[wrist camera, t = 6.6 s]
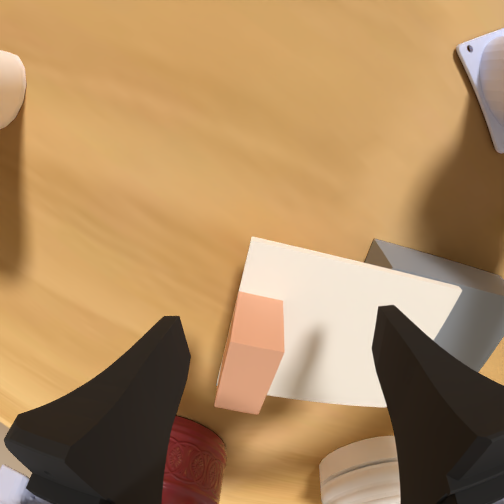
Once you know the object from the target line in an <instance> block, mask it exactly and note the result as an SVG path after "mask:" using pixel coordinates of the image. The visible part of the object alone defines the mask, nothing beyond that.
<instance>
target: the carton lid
mask: <svg viewBox="0 0 504 504" xmlns="http://www.w3.org/2000/svg"><path fill="white" fill-rule="evenodd" d="M461 292H462V290H461V288H460V287H459V286H456V285H452V284H448V283H444V282H440V281H436V280H432V279H428V278H424V277H420V276H416V275H412V274H408V273H404V272H400V271H396V270H392V269H388V268H384V267H379V266H375V265H371V264H367V263H363V262H359V261H355V260H351V259H346V258H342V257H338V256H334V255H330V254H325V253H321V252H317V251H313V250H308V249H304V248H300V247H296V246H291V245H287V244H283V243H278V242H274V241H270V240H265V239H261V238H257V237H252V238H251V242H250V246H249V250H248V254H247V258H246V262H245V267H244V271H243V275H242V279H241V283H240V287H239V291H238V295H237V300H236V304H235V308H234V312H233V316H232V320H231V324H230V329H229V333H228V337H227V341H226V345H225V349H224V354H223V358H222V362H221V366H220V370H219V374H218V379H217V383H216V386H218V387H217V392H216V398H215V403H214V407H218V408H223V409H228V410H234V411H239V412H245V413H251V414H257V415H258V414H259V412H260V409H261V407H262V405H263V402H264V400H265V398H266V396H267V395H270V396H276V397H283V398H290V399H297V400H304V401H313V402H321V403H331V404H341V405H353V406H368V407H387V405H386V402H385V398H384V395H383V392H382V389H381V386H380V383H379V380H378V376H377V373H376V369H375V364H374V359H373V354H372V342H373V337H374V331H375V324H376V318H377V311H378V306H387V305H395V306H396V307H397V308H398V309H399V310H400V311H401V312H402V313H403V314H405V315H406V316H407V317H408V318H409V319H410V320H411V321H412V322H413V323H414V324H415V325H416V326H417V327H419V328H420V329H421V330H422V331H423V332H424V333H425V334H426V335H427V336H429V337H430V338H431V339H432V340H434V339H435V337H436V336H437V334H438V332H439V331H440V329H441V327H442V326H443V324H444V322H445V321H446V319H447V317H448V316H449V314H450V312H451V310H452V309H453V307H454V305H455V303H456V301H457V300H458V298H459V296H460V294H461Z"/></svg>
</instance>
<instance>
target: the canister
mask: <svg viewBox="0 0 504 504" xmlns="http://www.w3.org/2000/svg"><path fill="white" fill-rule="evenodd" d="M226 460H227V457H226V453H225V445H224V443H223V441H222V440H221V439H220V437H219V436H217V435H216V434H215V433H214V432H212V431H211V430H209V429H208V428H206V427H204V426H202V425H200V424H198V423H196V422H194V421H191V420H188V419H185V418H182V417H179V416H175V420H174V423H173V426H172V430H171V434H170V439H169V444H168V450H167V456H166V463H165V471H164V479H163V490H162V504H219V501H220V493H221V486H222V478H223V471H224V469H225V467H226Z"/></svg>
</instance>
